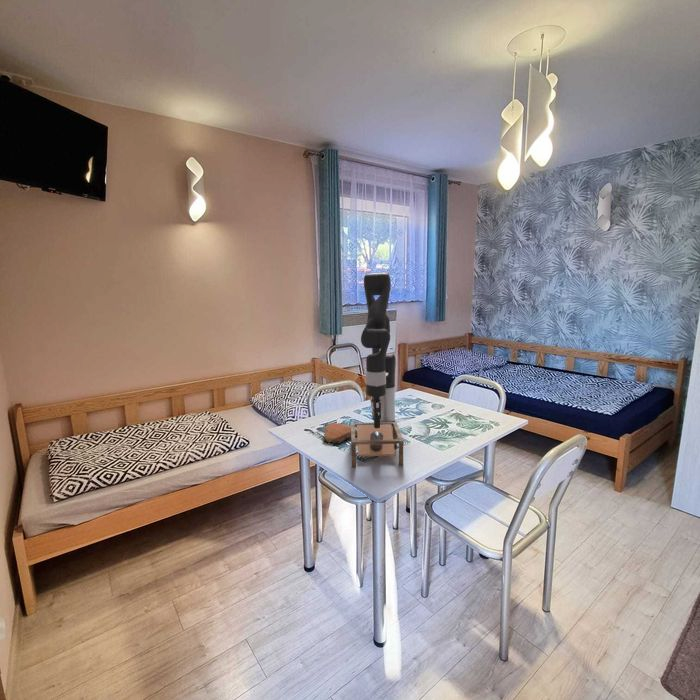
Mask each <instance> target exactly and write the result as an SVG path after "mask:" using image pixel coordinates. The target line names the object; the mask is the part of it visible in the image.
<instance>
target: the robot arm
mask: <svg viewBox="0 0 700 700" xmlns="http://www.w3.org/2000/svg"><path fill="white" fill-rule="evenodd" d="M391 286H392V285H391V277H390V274H389V273H388V272H375V273H366V274H365V275H364V277H363V288H364V294H365V299H366V301H365V302H366V306H367V321H366V325H365V326H364V328H363V330H362V332H361V336H360V343H361V345H362V346H363V347H364V348H366V349H371V353H370V354H368V355H366V358H365V359H366V360H365V364H366V365H365V367H366V371H365V395H367V396H368V397H371V398H370V407H371V412H372V414H371V417H372V420H373V423H374V428H380V422H395V419H396V418H395V417H396V415H395V414H396V412H395V411H396V408H395V407H396V406H395V405H396V355H395V354H393V353H387V352H388V349H389V346H390V345H389V344H390V342H391V334H390V333H391V324H390V317H389V316H388V315H387V308H388V304H389V300H390V295H391V290H392V289H391ZM376 296H378V298H375V297H376ZM386 373H387V374H386Z"/></svg>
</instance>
